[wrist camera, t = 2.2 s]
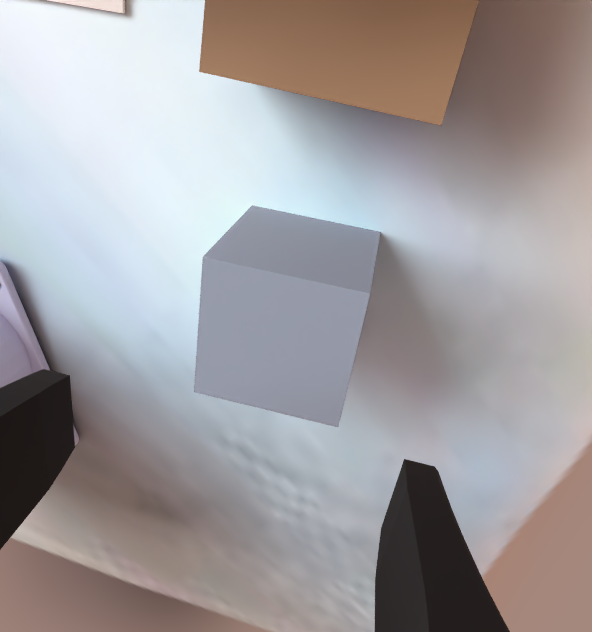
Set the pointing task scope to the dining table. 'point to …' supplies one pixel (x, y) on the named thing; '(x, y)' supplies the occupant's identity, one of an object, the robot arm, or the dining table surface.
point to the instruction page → (98, 4)
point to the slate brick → (284, 313)
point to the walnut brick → (343, 49)
